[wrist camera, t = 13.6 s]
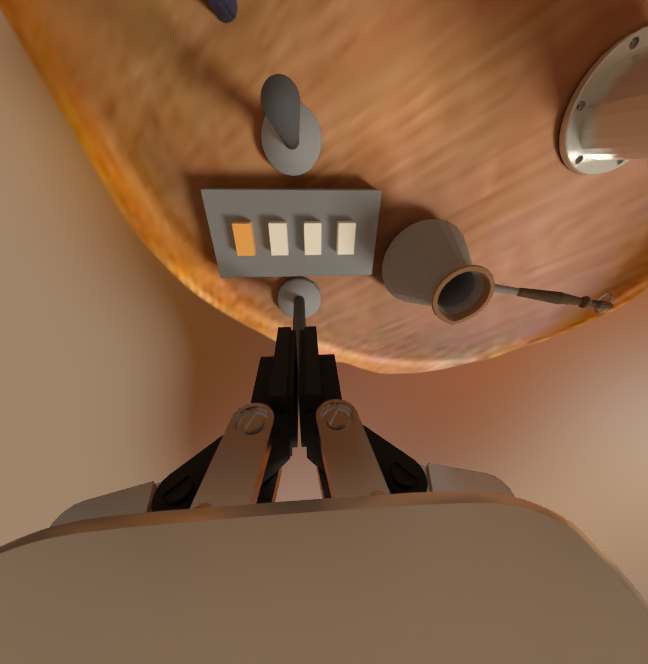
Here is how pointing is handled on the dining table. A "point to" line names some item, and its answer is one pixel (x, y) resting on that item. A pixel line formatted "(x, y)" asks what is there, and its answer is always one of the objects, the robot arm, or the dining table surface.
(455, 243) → the coffee pot
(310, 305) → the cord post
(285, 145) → the post
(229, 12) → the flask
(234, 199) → the breaker strip
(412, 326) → the dining table surface
